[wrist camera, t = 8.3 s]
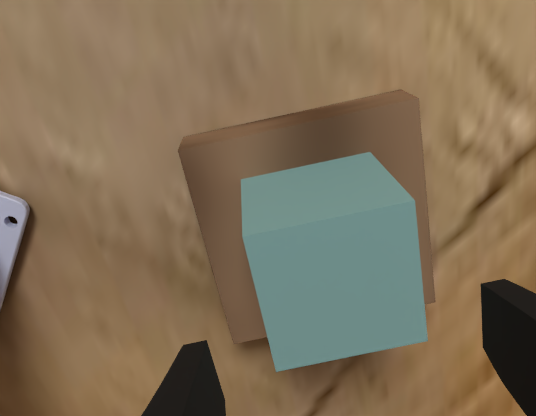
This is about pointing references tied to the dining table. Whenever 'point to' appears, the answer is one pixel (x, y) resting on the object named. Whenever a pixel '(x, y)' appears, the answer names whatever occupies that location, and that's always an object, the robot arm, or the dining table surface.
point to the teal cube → (334, 260)
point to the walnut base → (287, 157)
